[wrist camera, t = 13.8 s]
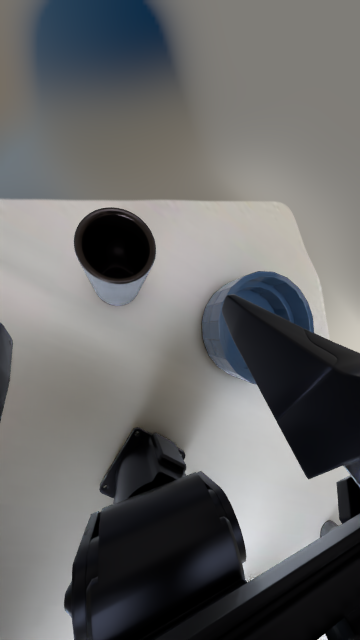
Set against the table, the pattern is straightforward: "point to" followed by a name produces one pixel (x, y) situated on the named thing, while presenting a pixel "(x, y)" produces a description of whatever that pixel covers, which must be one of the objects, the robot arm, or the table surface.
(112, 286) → the grey hollow cylinder
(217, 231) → the table surface
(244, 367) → the basin
